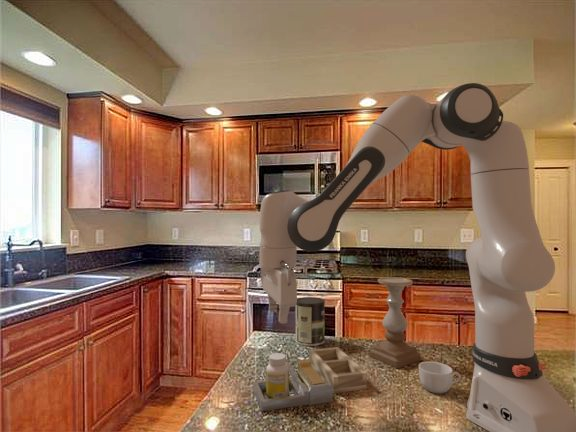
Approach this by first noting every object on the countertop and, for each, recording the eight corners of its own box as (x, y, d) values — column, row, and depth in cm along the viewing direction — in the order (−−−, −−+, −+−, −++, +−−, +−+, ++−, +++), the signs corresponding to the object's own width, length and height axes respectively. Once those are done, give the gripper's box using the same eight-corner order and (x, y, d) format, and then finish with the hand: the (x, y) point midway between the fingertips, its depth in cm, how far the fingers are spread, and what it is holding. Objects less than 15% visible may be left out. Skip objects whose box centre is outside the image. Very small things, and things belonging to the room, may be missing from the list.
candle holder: (368, 356, 109) (368, 278, 109) (392, 348, 115) (392, 275, 115) (397, 369, 100) (397, 284, 100) (421, 360, 106) (421, 280, 106)
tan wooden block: (325, 399, 83) (325, 379, 83) (313, 401, 82) (313, 380, 82) (308, 377, 95) (308, 359, 95) (297, 378, 94) (297, 360, 94)
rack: (366, 388, 88) (366, 372, 89) (333, 393, 86) (333, 377, 86) (337, 360, 106) (337, 347, 106) (309, 363, 103) (309, 350, 103)
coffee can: (323, 336, 128) (323, 296, 128) (326, 346, 117) (326, 304, 117) (294, 335, 128) (295, 296, 128) (294, 346, 117) (295, 303, 117)
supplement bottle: (276, 389, 88) (276, 350, 88) (293, 396, 85) (293, 355, 85) (261, 397, 84) (261, 356, 84) (278, 405, 81) (278, 362, 81)
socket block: (332, 401, 82) (332, 384, 82) (261, 412, 78) (261, 394, 78) (304, 365, 102) (304, 351, 102) (246, 372, 97) (246, 358, 97)
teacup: (424, 396, 85) (424, 373, 85) (414, 381, 93) (414, 360, 93) (467, 398, 84) (467, 375, 84) (454, 382, 92) (454, 362, 92)
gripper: (304, 264, 75) (304, 329, 75) (280, 254, 95) (280, 305, 95) (275, 265, 73) (275, 331, 73) (257, 254, 93) (256, 307, 93)
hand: (277, 316), depth 84 cm, fingers open, 8 cm apart
